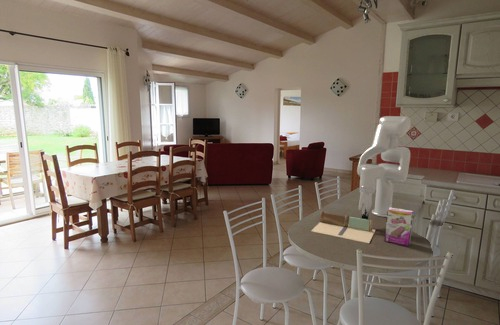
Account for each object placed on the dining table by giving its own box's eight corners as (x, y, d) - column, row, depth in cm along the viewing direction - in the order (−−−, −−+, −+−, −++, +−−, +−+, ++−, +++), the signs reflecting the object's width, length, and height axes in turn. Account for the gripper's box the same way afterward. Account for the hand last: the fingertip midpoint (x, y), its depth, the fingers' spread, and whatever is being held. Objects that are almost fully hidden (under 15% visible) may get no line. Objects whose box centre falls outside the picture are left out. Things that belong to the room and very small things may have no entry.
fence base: (320, 221, 177) (320, 210, 175) (348, 227, 169) (349, 215, 168) (319, 222, 175) (319, 211, 174) (347, 228, 167) (348, 216, 166)
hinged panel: (349, 225, 168) (349, 215, 167) (372, 230, 162) (373, 219, 161) (348, 226, 167) (349, 216, 166) (372, 231, 161) (372, 220, 160)
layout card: (322, 220, 179) (322, 219, 179) (375, 230, 165) (375, 229, 164) (310, 231, 162) (311, 230, 162) (369, 243, 148) (369, 242, 147)
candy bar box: (384, 241, 150) (386, 209, 147) (385, 238, 154) (388, 206, 152) (409, 246, 145) (413, 213, 142) (410, 243, 149) (413, 210, 146)
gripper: (363, 185, 173) (360, 217, 176) (356, 191, 161) (354, 224, 164) (377, 187, 169) (374, 219, 172) (371, 193, 157) (368, 227, 160)
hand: (364, 222), depth 168 cm, fingers closed
